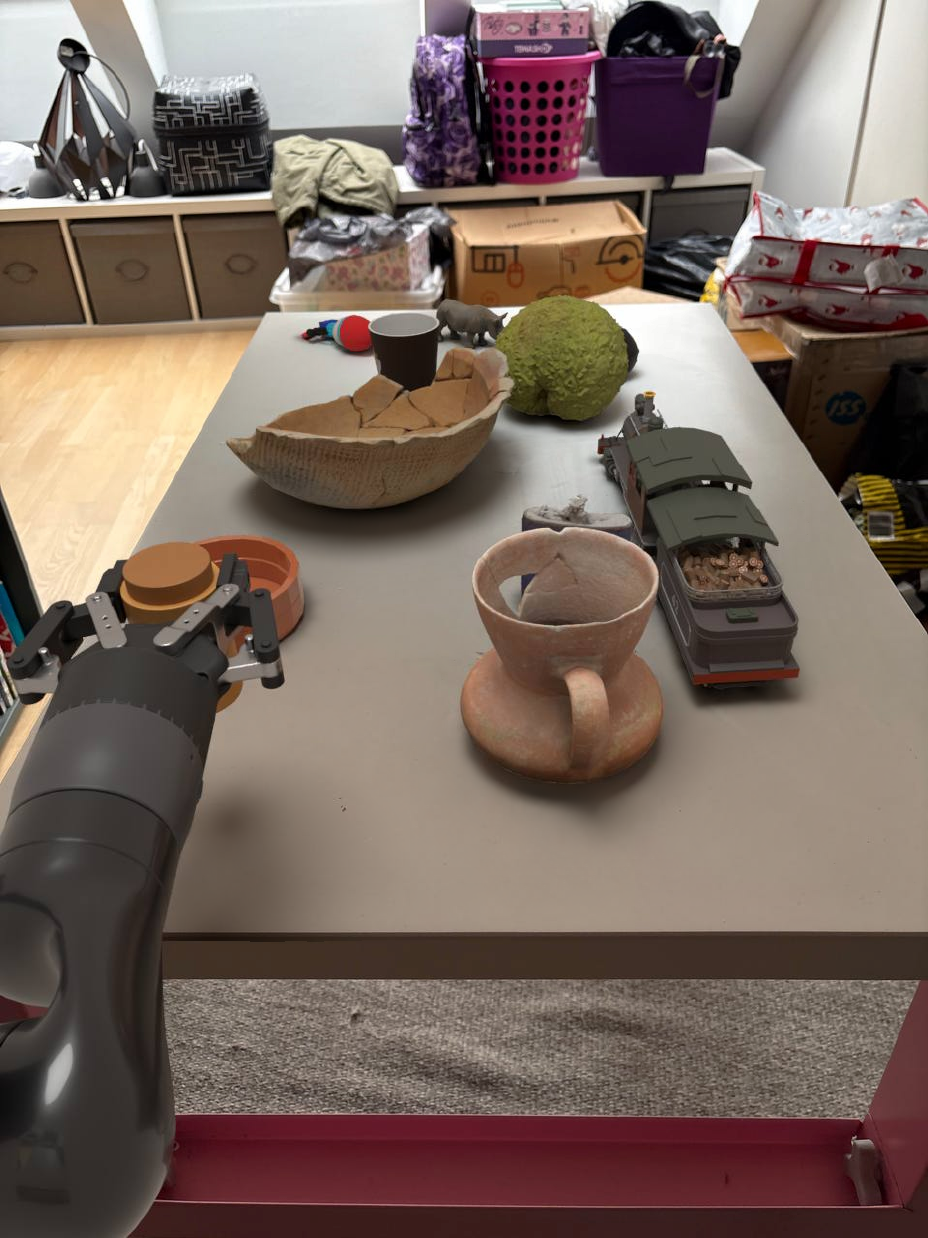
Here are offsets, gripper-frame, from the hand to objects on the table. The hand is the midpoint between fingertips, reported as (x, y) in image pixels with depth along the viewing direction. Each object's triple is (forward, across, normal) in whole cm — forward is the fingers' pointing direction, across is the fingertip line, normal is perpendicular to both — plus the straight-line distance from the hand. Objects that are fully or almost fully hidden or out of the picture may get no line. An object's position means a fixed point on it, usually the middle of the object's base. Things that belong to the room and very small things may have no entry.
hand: (180, 569), depth 57 cm
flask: (+19, -27, +18) cm, 38 cm away
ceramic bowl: (+44, -10, +18) cm, 49 cm away
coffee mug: (+68, -14, +18) cm, 72 cm away
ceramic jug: (+2, -24, +18) cm, 30 cm away
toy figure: (+89, -5, +19) cm, 91 cm away
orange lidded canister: (-3, 0, +7) cm, 8 cm away
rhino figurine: (+85, -24, +18) cm, 91 cm away
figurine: (+77, -40, +18) cm, 89 cm away
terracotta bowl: (+21, +3, +18) cm, 28 cm away
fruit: (+61, -32, +18) cm, 71 cm away
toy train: (+27, -38, +18) cm, 50 cm away
